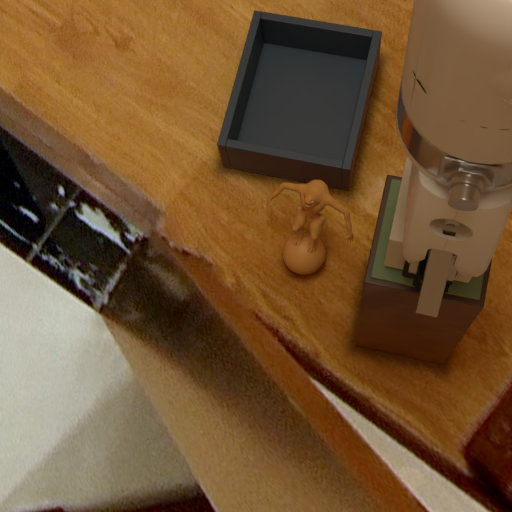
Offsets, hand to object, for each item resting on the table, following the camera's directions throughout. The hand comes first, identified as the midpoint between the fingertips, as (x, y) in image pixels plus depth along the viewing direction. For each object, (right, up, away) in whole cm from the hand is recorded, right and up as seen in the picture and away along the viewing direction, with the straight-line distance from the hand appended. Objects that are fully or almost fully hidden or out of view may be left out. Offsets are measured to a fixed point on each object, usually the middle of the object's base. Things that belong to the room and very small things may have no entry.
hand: (435, 231), depth 56 cm
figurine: (-7, -1, +25) cm, 26 cm away
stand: (+2, -7, +22) cm, 24 cm away
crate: (-7, +13, +29) cm, 33 cm away
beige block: (0, 0, +1) cm, 1 cm away
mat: (0, 0, +2) cm, 2 cm away
